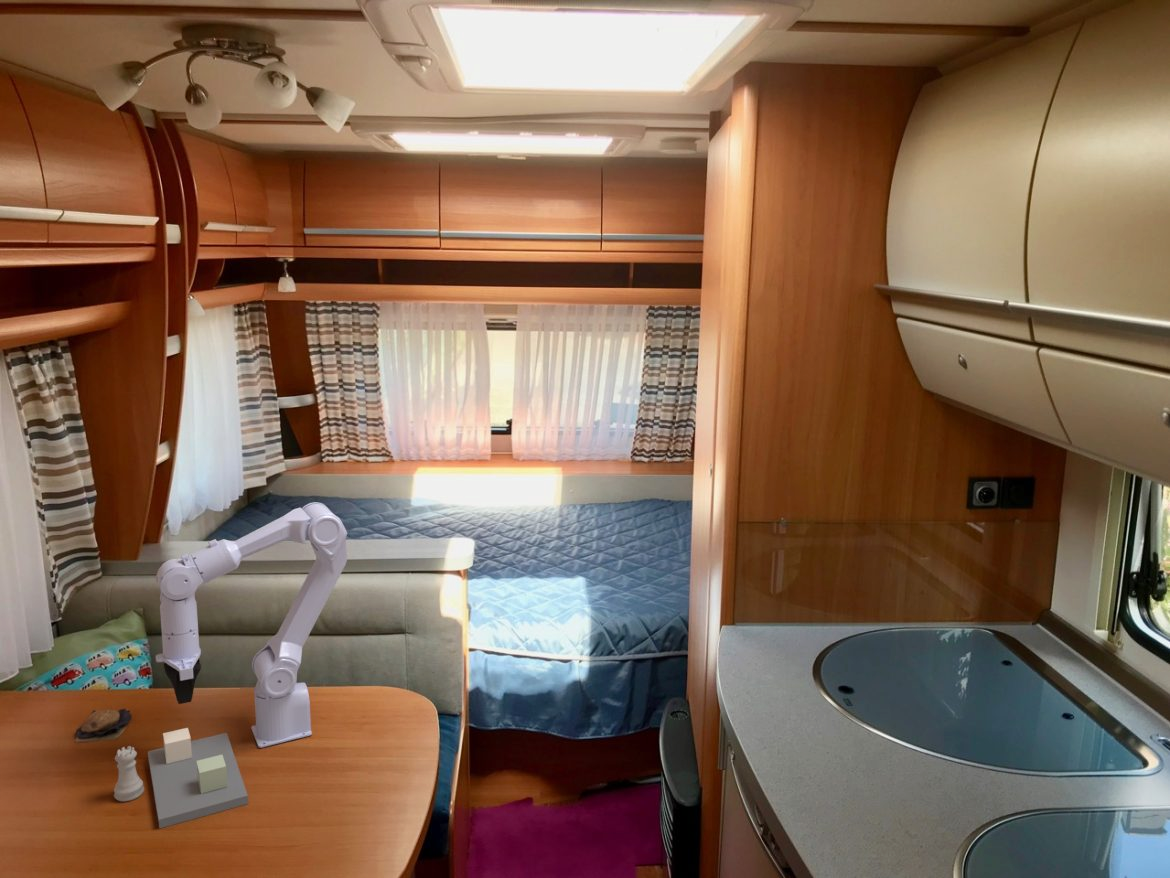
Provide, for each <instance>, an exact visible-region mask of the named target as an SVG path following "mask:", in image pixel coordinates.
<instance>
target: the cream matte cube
mask: <svg viewBox="0 0 1170 878" xmlns="http://www.w3.org/2000/svg"><path fill="white" fill-rule="evenodd" d="M162 737H163V739H162V740H163V748H164V753H165V758H166V763H167V764H168V763H172V762H176V761H180V760H185V759H189V758H192V750H191V741H192V739H191V734H190V731H189V727H185V728H181V729H175V730H172V731H167V732H163V733H162Z"/></svg>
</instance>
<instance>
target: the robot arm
mask: <svg viewBox="0 0 1170 878" xmlns="http://www.w3.org/2000/svg"><path fill="white" fill-rule="evenodd" d="M347 536H348V532H347V529H346V527H345V526H344V524H343V522H342V520H341V519H340V518H339V517H338V516H337V515H335V514H334V513H333V512H332V511H331V510H330V509H329V507H328V506H326V505H325V504H324V503H322V502H315V501H314V502H309V503H307V504H306V505H304V506H302V508H301V507H298V508H294V509H292V510H290V511H289V512H288V513H286V514H285V515H282V516H281V517H279V518H277V519H275V520H273V521H271V522H269V523H267V524H266V525H263V526H262V527H259V528H258V529H256V530H254V531H251V532H250V533H248V534H246V535H244V536H242V537H240V538H239V539H236V540H234V541H233V540H228V539H225V538H223V539H220V540H218V541H217V539H216V538H215V539H213V540H210V541H208V545H207V546H205V547H202V548H201V549H198V550H196V551H194V552H192V553H190V554H188V553H184V554H182V555H181V556H180V557H181V558H171V559H169V560H166V561H165V562H164V563H162V564H161V565H160V567H159V568H158V570H157V573H156V575H155V579H156V581H157V584H158V586H159V589H160V594H159V595H160V596H159V602H160V605H159V612H160V615H159V616H160V627H161V628H160V629H161V630H160V631H161V641H162V653H158V654H155V661H156V663H163V668H164V672H165V674H166V677H167V678H168V679H169V681H170V682H171V685H172V687H173V691H174V695H175V698H176V701H177V703H178V705H181V704H186V703H191V702H192V700H193V696H194V689H195V683H196V680H197V677H198V675H199V673H200V671H201V670H202V669H201V668H202V664H201V662H200V656H201V655H202V652H201V651H202V649H201V647H200V639H199V638H200V637H199V621H198V606H197V600H196V597H195V596H196V594H195V593H196V592H197V590H198V587H199V586H204V585H205V584H207V583H209V582H211V581H213V580H217V578H219V577H222V576H224V575H227V574H228V573H230V572H233V571H234V570H237V569H238V568H239V566H240V564H241V563H242V560H243V559H244V558H247V557H249V556H252V555H254V554H257V553H259V552H261V551H264V550H267V549H268V548H271V547H274V546H276V545H278V544H280V543H282V542H286V541H287V542H294V543H299V544H302V545H303V544H307V542H306V541H307V540H306V539H308V540H309V542H310V545H311V547H312V549H313V552H314V554H315V557H316V558H315V561H314V562H313V565H312V567H311V568H310V570H309V571H308V574H307V576H306V578H305V579H304V581H303V583H302V586H301V587H300V589H299V590H298V592H297V595H296V596H295V598H294V600H293V602H292V605H291V607H289V610H288V612H287V614H286V616H285V618H284V620H283V621H282V624H281V626H280V628H279V630H278V632H276V634H275V635H273V636H271V637H270V638H269V639H268V640H267V643H266V644H265V646H264V647H262V648H261V649H260V650H258V652H256V654H255V655H254V656H253V659H252V661H251V669H252V671H253V673H254V675H255V676H256V677H257V682H256V685H255V687H254V689H253V691H254V692H253V693H254V708H255V725H252V726H250V727H251V731H252V733H253V737H254V739H255V741H256V744H257V748H265V747H270V746H274V745H277V744H282V743H286V742H290V741H293V740H297V739H301V738H305V737H309V736H311V735H312V734H313V731H312V726H311V725H312V724H311V723H312V721H311V702H310V695H309V689H308V687H307V683H305V682H297V681H298V680H297V679H298V675H297V674H298V670H299V668H300V666H301V663H302V655H303V647H304V646H305V643H306V641H307V639H308V637H309V636H310V633H311V631H312V630H313V628H314V626H315V624H316V623H317V620H318V619H319V616H320V614H322V611H323V609H324V607H325V605H326V603H327V601H328V599H329V597H330V595H331V593H332V591H333V590H334V587H335V586H336V584H337V582H338V580H339V578H340V577H341V574H342V572H343V570H344V569H345V567H346V564H347V561H348V553H347V552H348V551H347V550H348V549H347Z"/></svg>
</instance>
